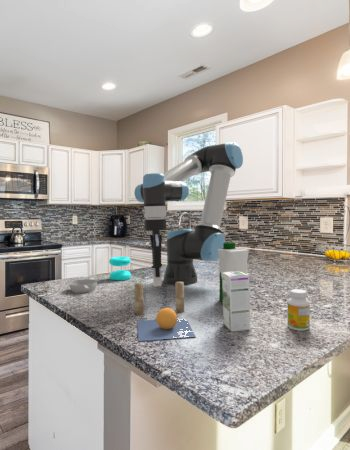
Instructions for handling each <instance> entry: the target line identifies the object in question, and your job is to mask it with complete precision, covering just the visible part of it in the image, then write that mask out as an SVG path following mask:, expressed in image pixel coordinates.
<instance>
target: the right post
mask: <svg viewBox="0 0 350 450" xmlns="http://www.w3.org/2000/svg"><path fill="white" fill-rule="evenodd" d="M174 285H175V286H174V287H175V289H174V290H175V312H176V311H177V312H176V313H184V312H185V284H184V282H175V284H174ZM183 311H184V312H183Z"/></svg>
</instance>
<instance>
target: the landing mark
mask: <svg viewBox="0 0 350 450" xmlns="http://www.w3.org/2000/svg"><path fill="white" fill-rule="evenodd" d="M177 320H178V319H177ZM180 321H181V322H179V320H178V321H177V322H176V325H175V326H174V327H173V328H171V329H168V330H166V329H162V328H161V327H159V325H158V324H157V320H156V319H144V320H137V340H138V342H139V343H140V342H153V341H154V342H155V341H164V340H163V339H170V340H174V339H173V336H174V337H177V338H178V337H179V336H180V335H178V333H177V332H179V331H183V332H184V331H186V330H187V331H189V330H190V331H193V329H192V327H191V325H190V322H189V321H188V320H187V321H185V320H184V319H183V320H180ZM187 323H188V324H187ZM186 327H188V328H186ZM180 329H183V330H180ZM182 335H185V332H184V333H182ZM186 336H189V337H196V338H197V336H196V334H195V332H194V331H193V332H188V333H187V334H186ZM182 338H184V336H183V337H182ZM184 339H185V338H184Z"/></svg>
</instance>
